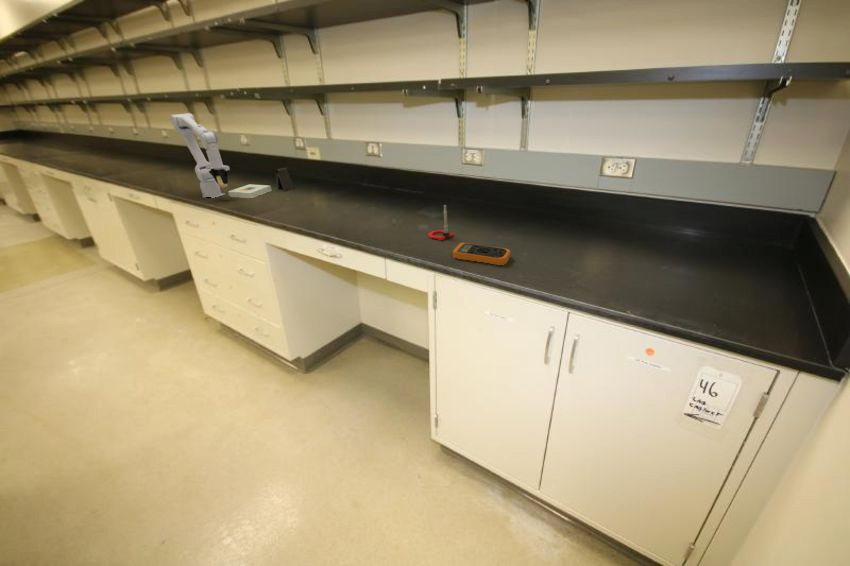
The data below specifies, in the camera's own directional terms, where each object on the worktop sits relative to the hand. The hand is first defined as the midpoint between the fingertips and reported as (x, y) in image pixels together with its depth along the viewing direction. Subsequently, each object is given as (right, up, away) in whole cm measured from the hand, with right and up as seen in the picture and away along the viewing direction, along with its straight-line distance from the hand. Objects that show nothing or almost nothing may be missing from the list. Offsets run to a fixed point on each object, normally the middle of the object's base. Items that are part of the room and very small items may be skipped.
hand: (222, 183), depth 196 cm
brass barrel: (0, -2, +1) cm, 2 cm away
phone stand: (+27, +2, +20) cm, 33 cm away
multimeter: (+127, -45, -73) cm, 154 cm away
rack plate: (+9, -2, +14) cm, 16 cm away
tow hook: (+114, -35, -55) cm, 131 cm away
